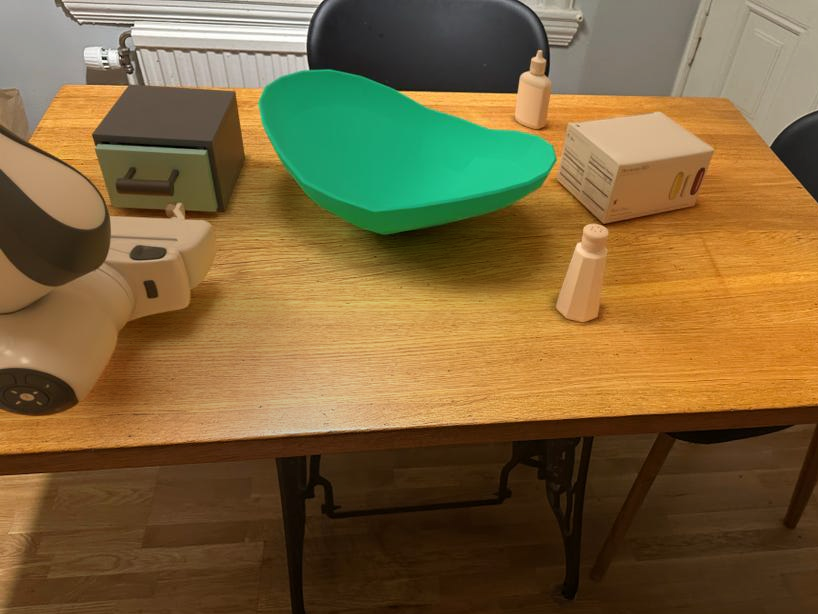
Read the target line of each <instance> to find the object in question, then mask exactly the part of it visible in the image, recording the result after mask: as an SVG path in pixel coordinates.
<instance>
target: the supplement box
mask: <svg viewBox="0 0 818 614" xmlns="http://www.w3.org/2000/svg"><path fill="white" fill-rule="evenodd" d="M715 151H716V149H714V148H713V147H712V146H711V145H709V144H708V143H707V142H705V141H704V140H703V139H701V138H700V137H698V136H696V135H695V134H693V133H692V132H690V131H689V130H688V129H686V128H685V127H683V126H682V125H681V124H679V123H678V122H677V121H674V120H673V119H672V118H670V117H669V116H668V115H666V114H665V113H663V112H662V111H659V110H658V111H653V112H645V113H637V114H631V115H624V116H616V117H607V118H601V119H593V120H585V121H576V122H567V126H566V131H565V135H564V141H563V146H562V150H561V156H560V160H559V166H558V170H557V171H558V172H557V175H556V180H557V181H558V182H559V183H560V184H561V185H562V186H563V187H564V188H565V189H566V190H567V191H568V192H569V193H570V194H571V195H573V197H575V198H576V200H578V202H580V203H581V204H582V205H583V206H584V207H585V208H586V209H587V210H588V211H589V212H590V213H591V214H592V215H593V216H594V217H595V218H596V219H597V220H599V221H600V223H601V224H603V225H605V224H610V223H614V222H619V221H624V220H630V219H634V218H640V217H644V216H651V215H656V214H661V213H665V212H669V211H675V210H681V209H685V208H691V207H694V206H695V205H696V203H697V200H698V198H699V193H700V192H701V189H702V186H703V183H704V181H705V177H706V175H707V172H708V170H709V167H710V163H711V161H712V159H713V156H714V152H715Z"/></svg>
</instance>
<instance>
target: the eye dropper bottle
mask: <svg viewBox="0 0 818 614" xmlns="http://www.w3.org/2000/svg"><path fill="white" fill-rule="evenodd" d="M546 66H547V59H545V57H543V50H541V49H538V50H537V52H536V56H533V57H532V58H531V59H530V66H529V70H528V71H524V72H523V73H521V74H520V76H519V81H518V86H517V96H516V102H515V110H514V119H515V121H517V122H518V123H519V124H520V125H522V126H525V127H527V128H530V129H534V130H539V129H542V128H544V127H545V126H546V125H547V124H546V123H547V117H548V112H549V106H550V100H551V94H552V81H551V80H550V79H549V77H548V76H547V75H546V74H545V72H546Z"/></svg>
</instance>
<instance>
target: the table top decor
mask: <svg viewBox="0 0 818 614" xmlns="http://www.w3.org/2000/svg"><path fill="white" fill-rule="evenodd" d="M257 105H258V110H259V116H260V120H261V126H262V127H263V130H264V131H265V134H266V136H267V138H268V140H269V141H270V144H271V145H272V148H273V149H274V151H275V153H276V155H277V156H278V159H279V161H280V162H281V164H282V166H283V168H285V170H286V171H287V172H288V174H290V176H291V177H292V179H293V180H294V181H295V183H297V184H298V186H299V188H301V190H302V191H303V192H304V194H306V196H307V197H309V198H310V200H312V201H313V202H314V203H315V204H316V206H318V207H320V208H321V209H323V210H325V211H327V212H329V213H330V214H332V215H334V216H336V217H338V218H340V219H341V220H343V221H346V222H347V223H349V224H351V225H353V226H354V227H356V228H358V229H362V230H366V231H369V232H372V233H376V234H380V235H383V236H385V235H391V234H396V233H401V232H408V231H413V230H414V231H416V230H417V231H418V230H424V229H429V228H434V227H438V226H443V225H446V224H450V223H451V224H452V223H454V222H459V221H463V220H466V219H470V218H474V217H475V218H476V217H479V216H482V215H486V214H489V213H493V212H496V211H498V210H501V209H504V208H507V207H510V206H511V205H513V204H515V203H517V202H519V201H520V200H522V199H523V198H525V197H527V196H529V195H530V194H532V193H534V192H535V191H537V190H538V189H540V188H542V186H543V185H544V183H545V181H546V180H547V178H548V176H549V175H550V173H551V172H552V170H553V168H554V166H555V165H556V163H557V161H558V159H557V158H558V157H557V154H556V151H555V146H554V145H553V144H552V143H550V142H549V141H547V140H545V139H544V138H543V137H541V136H539V135H536V134H532V133H528V132H524V131H520V130H515V129H514V130H512V129H498V128H497V129H495V128H488V127H485V126H484V125H483V126H482V125H480V124H477V123H475V122H472V121H469V120H467V119H464V118H461V117H459V116H456V115H452V114H449V113H446V112H443V111H439V110H436V109H432V108H429V107H426V106H425V105H423V104H421V103H420V102H418V101H416V100H414V99H413V98H411V97H409V96H407V95H405V94H404V93H402V92H400V91H398V90H397V89H395V88H393V87H390V86H387V85H385V84H382V83H380V82H377V81H374V80H373V79H370V78H367V77H365V76H362V75H359V74H354V73H349V72H344V71H340V70H334V69H329V68H328V69H327V68H326V69H307V70H306V69H304V70H303V69H302V70H299V71H295V72H292V73H288V74H285V75H282V76H279V77H278V78H276V79H274V80H273V81H272V82H270V83H268V84H266V85H265V86H264V87H263V90H262V92H261V94H260V97H259V99H258V101H257Z"/></svg>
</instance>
